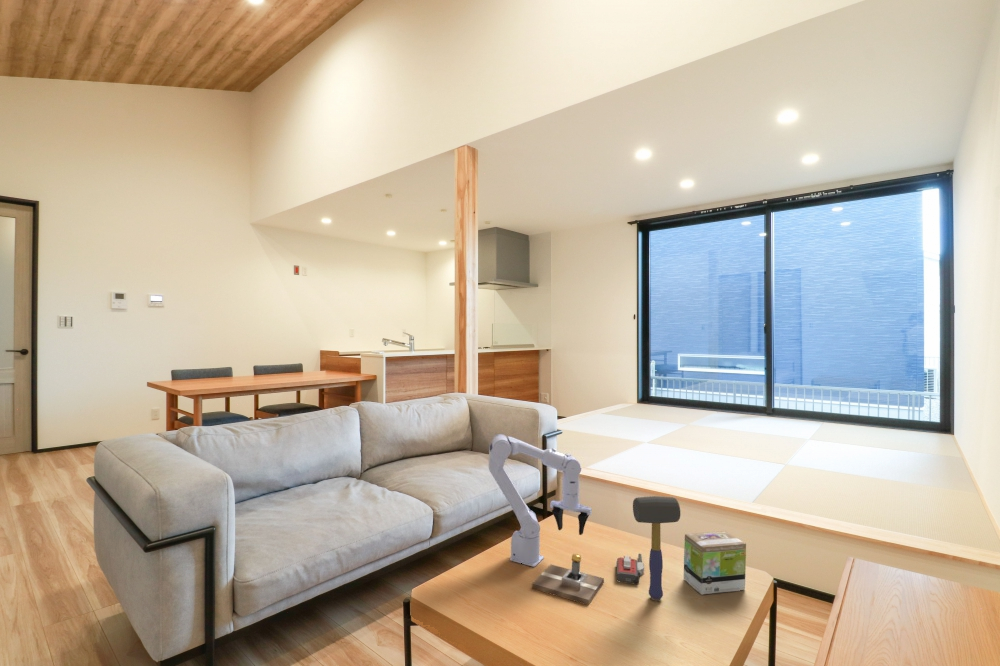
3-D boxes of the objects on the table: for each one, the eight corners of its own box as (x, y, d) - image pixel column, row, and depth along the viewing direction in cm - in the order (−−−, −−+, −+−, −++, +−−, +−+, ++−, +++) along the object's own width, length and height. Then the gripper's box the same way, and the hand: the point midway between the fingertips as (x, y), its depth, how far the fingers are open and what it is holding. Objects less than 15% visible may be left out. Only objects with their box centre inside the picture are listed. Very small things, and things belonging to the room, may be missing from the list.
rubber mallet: (672, 591, 147) (672, 492, 147) (681, 605, 140) (682, 501, 139) (631, 592, 147) (631, 492, 147) (638, 606, 139) (639, 501, 139)
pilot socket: (561, 584, 148) (561, 577, 148) (569, 575, 153) (569, 569, 153) (580, 589, 145) (580, 583, 145) (587, 580, 150) (587, 574, 150)
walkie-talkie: (645, 588, 150) (643, 558, 169) (645, 574, 150) (643, 546, 169) (615, 584, 152) (617, 555, 171) (615, 570, 152) (617, 543, 171)
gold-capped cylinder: (569, 581, 149) (570, 555, 150) (572, 578, 152) (573, 553, 153) (577, 583, 148) (579, 557, 149) (580, 581, 150) (582, 555, 152)
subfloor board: (532, 588, 149) (532, 583, 149) (550, 568, 161) (550, 564, 161) (588, 605, 140) (588, 599, 140) (603, 583, 152) (603, 577, 152)
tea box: (702, 596, 144) (702, 546, 144) (682, 579, 154) (683, 533, 154) (746, 591, 148) (746, 542, 147) (724, 574, 157) (725, 529, 157)
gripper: (594, 492, 168) (594, 531, 168) (555, 485, 175) (555, 523, 175) (587, 498, 162) (587, 539, 162) (547, 491, 169) (547, 530, 169)
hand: (570, 531), depth 168 cm, fingers open, 7 cm apart
